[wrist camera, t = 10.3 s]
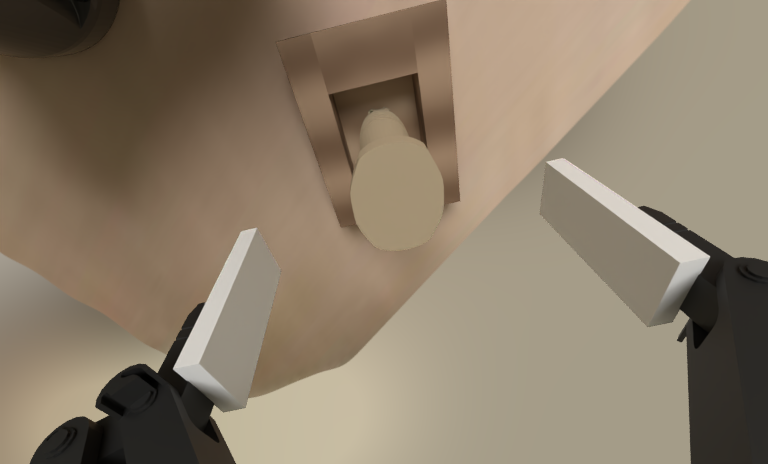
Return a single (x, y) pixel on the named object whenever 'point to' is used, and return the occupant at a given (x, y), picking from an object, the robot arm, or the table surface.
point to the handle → (395, 185)
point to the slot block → (375, 91)
